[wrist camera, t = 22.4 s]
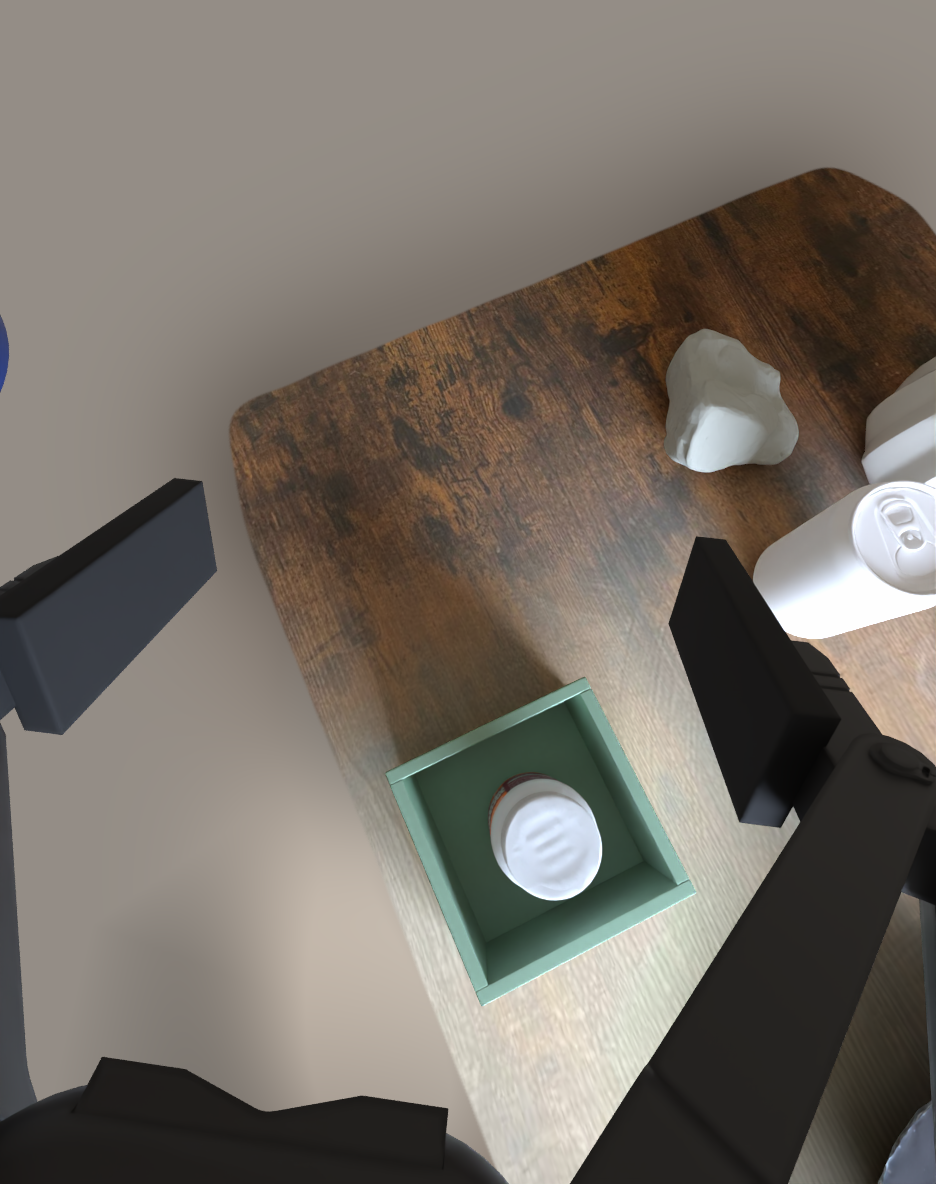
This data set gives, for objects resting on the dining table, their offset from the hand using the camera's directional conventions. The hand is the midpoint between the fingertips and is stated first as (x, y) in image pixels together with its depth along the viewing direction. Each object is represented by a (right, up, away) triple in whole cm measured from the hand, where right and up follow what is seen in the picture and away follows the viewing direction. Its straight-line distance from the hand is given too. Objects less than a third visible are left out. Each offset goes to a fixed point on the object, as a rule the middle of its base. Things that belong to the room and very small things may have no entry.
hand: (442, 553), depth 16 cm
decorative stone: (+21, +13, +33) cm, 42 cm away
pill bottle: (+5, -17, +25) cm, 31 cm away
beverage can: (+27, -1, +30) cm, 40 cm away
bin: (+5, -17, +26) cm, 31 cm away
